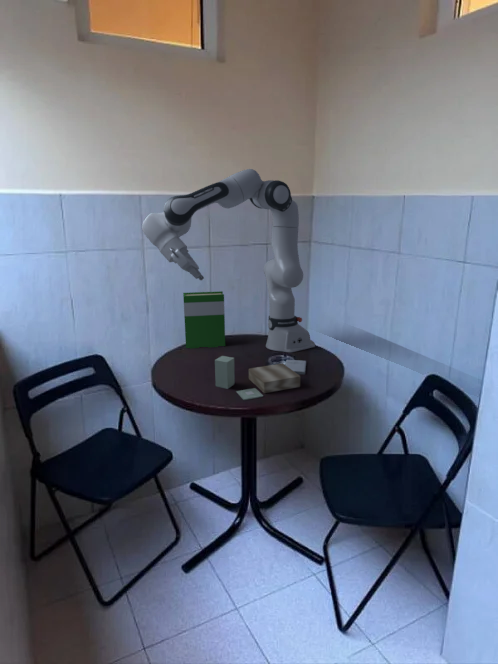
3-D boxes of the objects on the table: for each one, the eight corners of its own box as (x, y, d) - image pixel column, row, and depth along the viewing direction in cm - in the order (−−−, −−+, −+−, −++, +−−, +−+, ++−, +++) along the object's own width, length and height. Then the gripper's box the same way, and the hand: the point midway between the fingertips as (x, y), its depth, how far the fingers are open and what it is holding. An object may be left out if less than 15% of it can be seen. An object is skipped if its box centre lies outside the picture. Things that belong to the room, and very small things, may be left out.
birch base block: (282, 373, 171) (282, 363, 170) (300, 386, 159) (300, 376, 157) (248, 378, 166) (248, 368, 165) (264, 393, 153) (264, 382, 152)
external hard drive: (283, 374, 171) (285, 363, 183) (304, 375, 170) (306, 364, 182) (283, 370, 171) (286, 359, 182) (304, 371, 169) (306, 360, 181)
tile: (255, 388, 157) (255, 387, 157) (263, 396, 151) (263, 395, 151) (236, 392, 154) (236, 390, 154) (244, 400, 148) (243, 398, 148)
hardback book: (223, 341, 209) (222, 291, 203) (225, 346, 202) (224, 294, 196) (185, 343, 207) (183, 292, 200) (186, 348, 200) (183, 296, 193)
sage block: (222, 381, 164) (222, 355, 161) (234, 383, 161) (234, 357, 159) (215, 386, 159) (214, 360, 157) (227, 388, 157) (227, 362, 154)
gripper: (175, 240, 155) (202, 270, 155) (186, 248, 176) (210, 274, 176) (162, 253, 156) (188, 282, 156) (175, 259, 176) (198, 285, 176)
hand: (200, 278), depth 166 cm, fingers open, 8 cm apart
